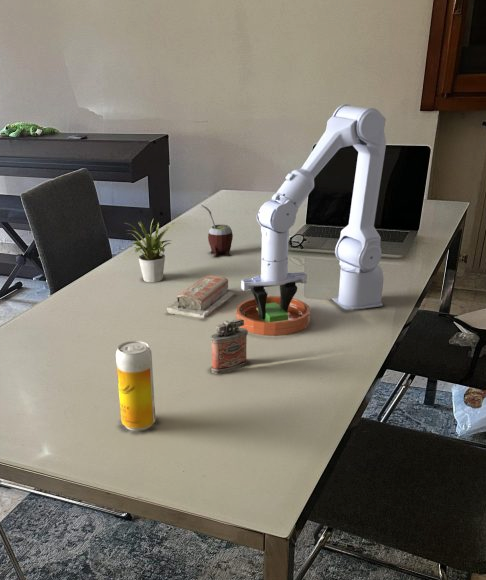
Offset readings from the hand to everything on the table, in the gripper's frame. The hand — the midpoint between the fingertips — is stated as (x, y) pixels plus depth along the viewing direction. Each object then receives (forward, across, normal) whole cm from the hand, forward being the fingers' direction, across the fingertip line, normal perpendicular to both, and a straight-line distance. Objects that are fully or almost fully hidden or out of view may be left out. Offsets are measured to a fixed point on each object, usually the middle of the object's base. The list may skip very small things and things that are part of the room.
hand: (272, 316), depth 167 cm
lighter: (+2, +16, +19) cm, 25 cm away
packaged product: (+2, +12, -17) cm, 21 cm away
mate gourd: (+2, -3, -54) cm, 54 cm away
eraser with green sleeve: (+1, 0, 0) cm, 1 cm away
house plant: (+2, +21, -40) cm, 45 cm away
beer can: (+2, +38, +36) cm, 52 cm away
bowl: (+2, 0, 0) cm, 2 cm away
